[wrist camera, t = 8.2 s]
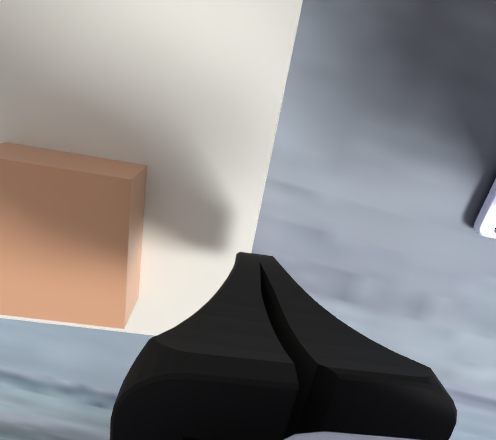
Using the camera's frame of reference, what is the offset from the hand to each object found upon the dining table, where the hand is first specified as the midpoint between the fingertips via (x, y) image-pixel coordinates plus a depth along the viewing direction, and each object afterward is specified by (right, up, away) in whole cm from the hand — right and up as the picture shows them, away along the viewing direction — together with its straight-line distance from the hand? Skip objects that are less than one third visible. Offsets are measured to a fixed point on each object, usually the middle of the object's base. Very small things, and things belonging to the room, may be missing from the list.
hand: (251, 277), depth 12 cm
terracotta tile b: (-7, +2, +1) cm, 7 cm away
